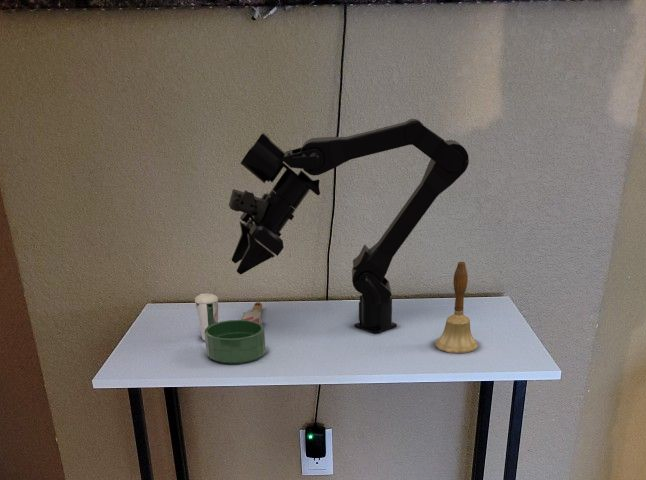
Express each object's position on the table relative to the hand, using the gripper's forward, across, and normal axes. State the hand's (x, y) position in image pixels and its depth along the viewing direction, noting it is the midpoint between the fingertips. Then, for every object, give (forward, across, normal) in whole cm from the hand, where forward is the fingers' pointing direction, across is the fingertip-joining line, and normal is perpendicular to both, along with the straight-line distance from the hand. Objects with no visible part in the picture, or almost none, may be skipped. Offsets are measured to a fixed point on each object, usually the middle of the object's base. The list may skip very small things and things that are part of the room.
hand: (235, 267), depth 147 cm
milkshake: (+14, +1, +4) cm, 15 cm away
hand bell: (-15, +18, +39) cm, 46 cm away
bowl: (+12, +11, +7) cm, 18 cm away
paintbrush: (+8, -6, +11) cm, 15 cm away
